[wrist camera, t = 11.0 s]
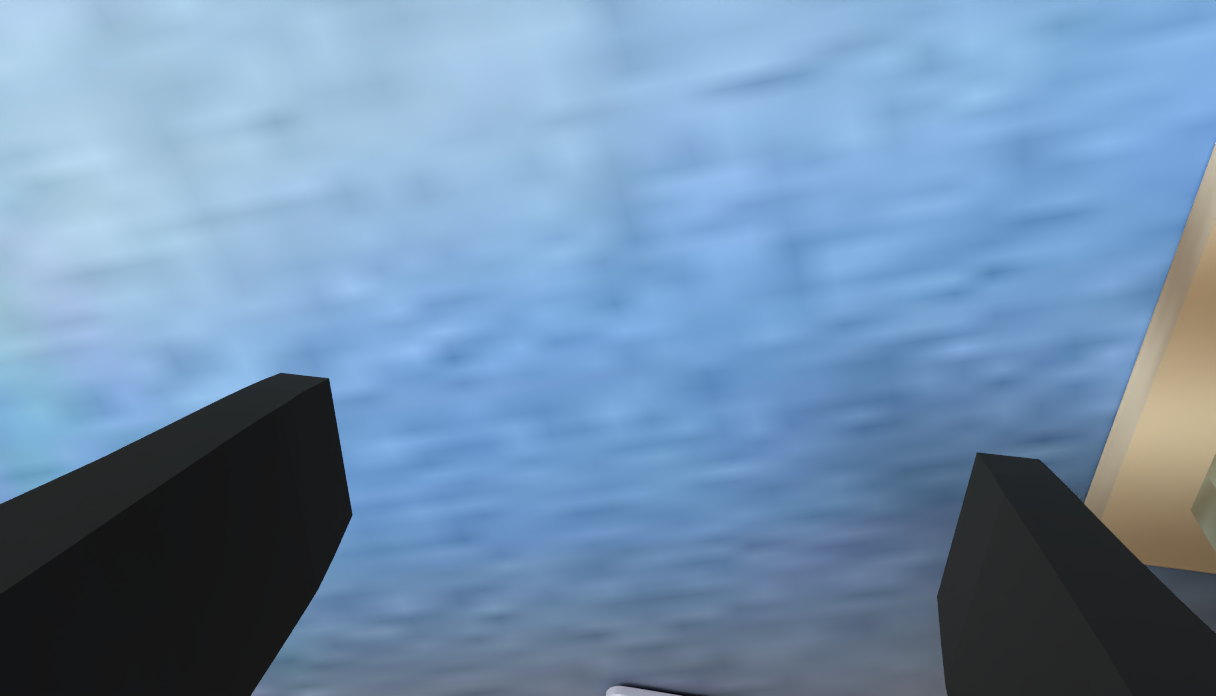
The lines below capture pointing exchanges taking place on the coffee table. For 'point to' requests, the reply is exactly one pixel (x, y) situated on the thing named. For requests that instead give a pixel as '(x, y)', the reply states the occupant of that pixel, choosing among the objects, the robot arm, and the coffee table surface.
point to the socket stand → (1170, 415)
